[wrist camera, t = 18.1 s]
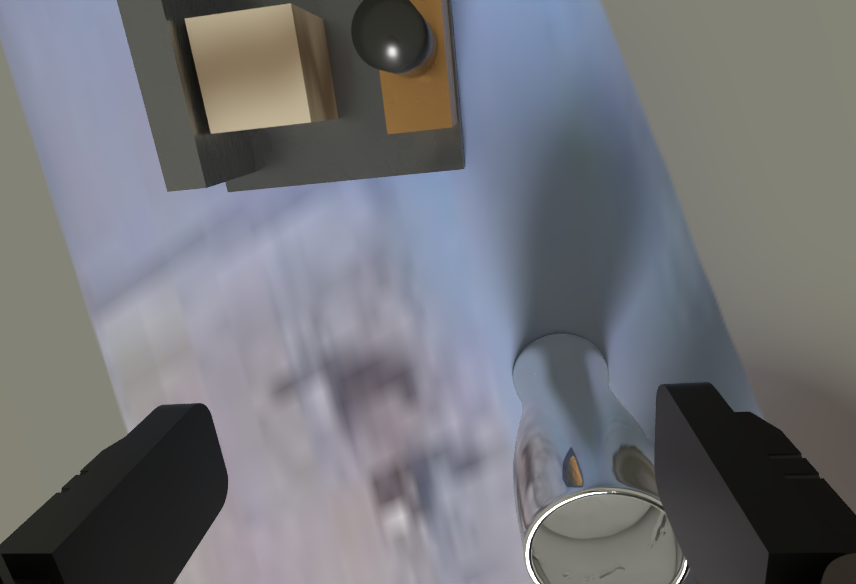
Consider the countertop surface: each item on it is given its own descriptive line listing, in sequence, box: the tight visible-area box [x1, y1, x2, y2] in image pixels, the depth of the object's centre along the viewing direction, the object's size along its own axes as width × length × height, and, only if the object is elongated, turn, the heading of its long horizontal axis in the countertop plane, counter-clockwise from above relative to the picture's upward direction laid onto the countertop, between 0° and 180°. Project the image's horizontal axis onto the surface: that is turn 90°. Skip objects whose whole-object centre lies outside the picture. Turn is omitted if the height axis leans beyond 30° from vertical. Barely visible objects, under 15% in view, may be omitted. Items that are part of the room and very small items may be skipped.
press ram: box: [351, 0, 458, 134], centre depth 23 cm, size 7×3×11 cm, turn 6°
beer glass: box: [513, 333, 690, 584], centre depth 28 cm, size 7×7×15 cm
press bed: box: [117, 0, 465, 192], centre depth 27 cm, size 12×14×8 cm
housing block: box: [185, 3, 339, 134], centre depth 27 cm, size 5×5×5 cm
